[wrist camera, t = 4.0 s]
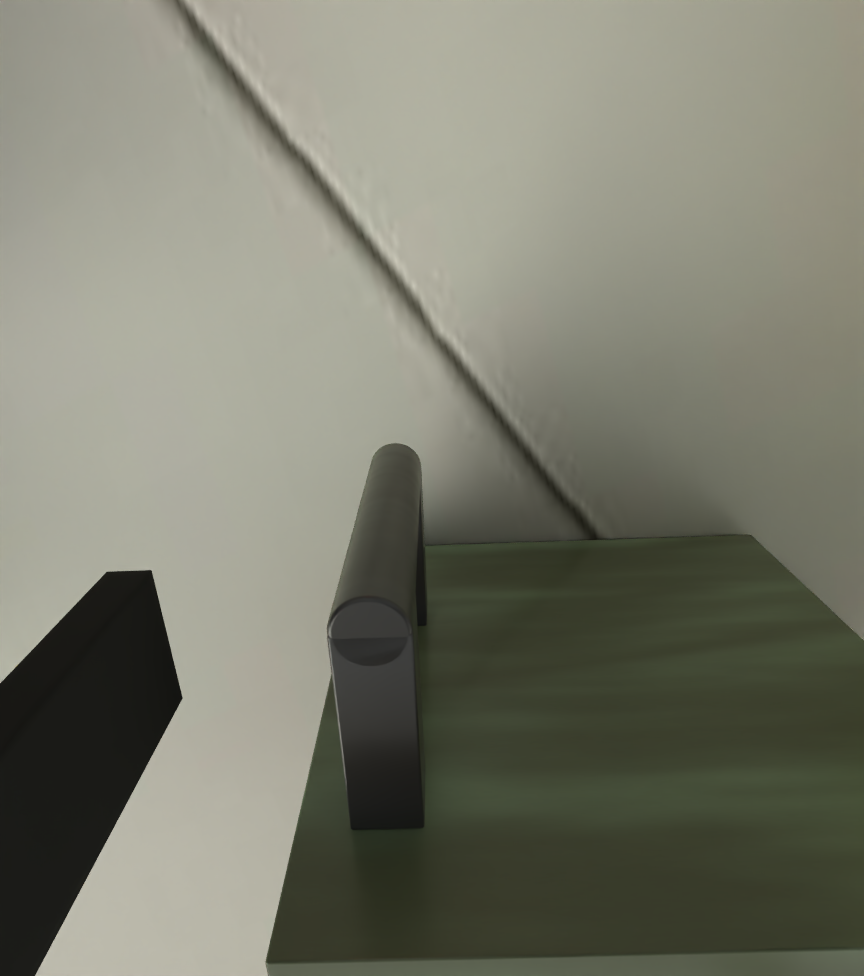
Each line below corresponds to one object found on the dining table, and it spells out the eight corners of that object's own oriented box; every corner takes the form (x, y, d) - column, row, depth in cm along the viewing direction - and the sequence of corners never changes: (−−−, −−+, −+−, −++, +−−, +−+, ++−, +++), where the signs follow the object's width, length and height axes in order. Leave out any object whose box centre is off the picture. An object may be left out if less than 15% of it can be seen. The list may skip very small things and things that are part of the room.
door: (347, 410, 23) (206, 701, 9) (775, 395, 23) (1369, 667, 8) (362, 568, 26) (271, 998, 11) (747, 555, 26) (1164, 977, 11)
